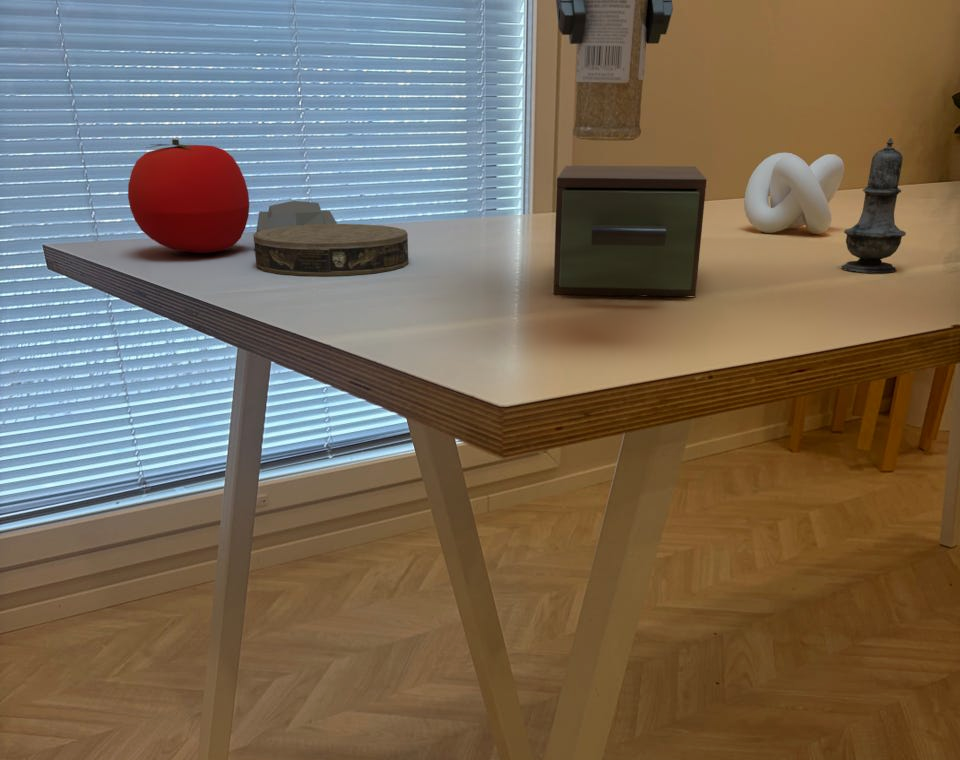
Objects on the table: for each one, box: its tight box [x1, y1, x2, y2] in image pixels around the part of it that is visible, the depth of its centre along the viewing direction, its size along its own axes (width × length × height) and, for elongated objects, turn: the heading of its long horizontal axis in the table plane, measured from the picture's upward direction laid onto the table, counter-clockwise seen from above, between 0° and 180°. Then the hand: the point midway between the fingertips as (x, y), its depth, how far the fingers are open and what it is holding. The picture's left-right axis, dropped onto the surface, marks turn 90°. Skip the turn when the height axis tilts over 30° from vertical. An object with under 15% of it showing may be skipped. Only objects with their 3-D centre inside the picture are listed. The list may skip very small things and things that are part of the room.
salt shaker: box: [841, 137, 907, 274], centre depth 102 cm, size 6×6×12 cm
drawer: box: [559, 188, 700, 290], centre depth 92 cm, size 18×11×8 cm, turn 173°
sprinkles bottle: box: [572, 0, 648, 142], centre depth 65 cm, size 5×5×13 cm
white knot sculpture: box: [743, 152, 845, 235], centre depth 129 cm, size 11×12×9 cm
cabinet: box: [552, 165, 708, 297], centre depth 96 cm, size 15×13×10 cm
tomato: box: [127, 138, 250, 254], centre depth 112 cm, size 12×14×12 cm
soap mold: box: [253, 200, 338, 252], centre depth 125 cm, size 10×20×4 cm, turn 10°
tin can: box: [253, 223, 409, 277], centre depth 107 cm, size 16×16×3 cm
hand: (617, 31), depth 64 cm, fingers closed on sprinkles bottle, 4 cm apart
